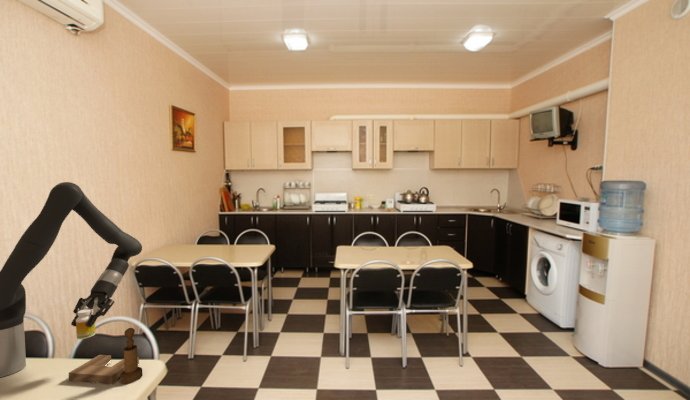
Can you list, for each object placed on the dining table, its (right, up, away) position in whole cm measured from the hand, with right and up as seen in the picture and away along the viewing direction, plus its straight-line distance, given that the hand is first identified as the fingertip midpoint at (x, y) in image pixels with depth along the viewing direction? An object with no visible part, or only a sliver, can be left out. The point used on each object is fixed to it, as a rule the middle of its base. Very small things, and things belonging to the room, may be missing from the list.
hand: (81, 325), depth 115 cm
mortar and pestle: (+21, -17, -4) cm, 28 cm away
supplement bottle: (0, -5, +2) cm, 5 cm away
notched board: (+9, -17, 0) cm, 19 cm away
